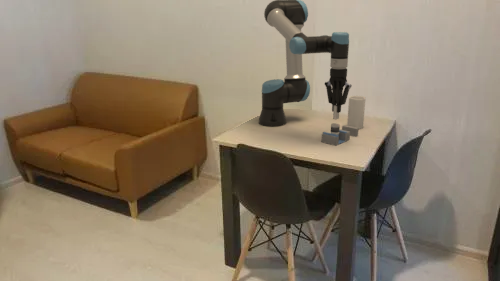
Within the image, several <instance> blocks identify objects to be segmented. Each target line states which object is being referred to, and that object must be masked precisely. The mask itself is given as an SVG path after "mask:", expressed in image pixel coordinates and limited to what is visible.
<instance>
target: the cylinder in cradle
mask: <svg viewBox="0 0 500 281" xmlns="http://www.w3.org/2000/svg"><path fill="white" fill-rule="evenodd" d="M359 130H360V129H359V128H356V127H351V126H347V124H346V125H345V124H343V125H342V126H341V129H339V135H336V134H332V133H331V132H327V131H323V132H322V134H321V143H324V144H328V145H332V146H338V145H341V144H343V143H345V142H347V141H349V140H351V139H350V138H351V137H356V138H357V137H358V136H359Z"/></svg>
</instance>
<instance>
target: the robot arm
mask: <svg viewBox="0 0 500 281" xmlns="http://www.w3.org/2000/svg"><path fill="white" fill-rule="evenodd" d="M263 14H264V20H265V22H266V23H267V24H268V25H269V26H270V27H273V28H275V30H276V31H277V32H278V33H279V34H281V36H282V37H283V38H284V39H285V57H286V58H285V60H286V75H285V77H284V80H283V79H279V78H278V79H269V80H266V81H264V82H263V83H262V85H261V105H262V106H261V111H260V115H259V118H258V124H259V125H261V126H264V127H279V126H285V125H286V124H287V118H286V115H285V112H284V104H289V103H300V102H304V101H306V100H308V99H309V98H308V97H309V96H310V92H311V84H310V81H309V80H307V79H306V76H305V75H304V74H303V72H304V71H303V55H307V54H321V53H322V54H323V53H324V54H325V53H326V54H330V65H329V66H330V68H329V69H330V70H329V80H328V81H325V82H324V86H325V89H326V93H327V94H326V95H327V100H328V103H329V104H331V111H332V112H333V113H332V115H333V116H332V117H333V118H332V120H335V121H336V120H339V119H340V113H341V112H342V106H344V105H346V103H347V98H348V95H349V92H350V89H351V88H352V84H350V83H349V82H348V79H347V77H348V66H349V64H348V62H349V47H350V34H349V32H347V31H346V32H345V31H344V32H343V31H335V32H332V33H331V35H327V34H324V35H320V36H319V35H318V36H307V35H306V34H304V33H303V31H302V28H303V27H304V26H305V23H306V22H307V21H308V16H309V9H308V7H307V4H306V3H305V2H304V1H303V0H272V1H270V2H269V3H268V4H267V6H266V7H265V9H264V13H263Z"/></svg>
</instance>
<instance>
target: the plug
mask: <svg viewBox="0 0 500 281" xmlns="http://www.w3.org/2000/svg"><path fill="white" fill-rule="evenodd" d="M339 129H340V123H337V122H336V123H331V124H330V133H332V134H336V135H339ZM340 130H341V129H340Z"/></svg>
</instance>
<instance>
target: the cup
mask: <svg viewBox="0 0 500 281" xmlns="http://www.w3.org/2000/svg"><path fill="white" fill-rule="evenodd" d="M365 107H366V97H365V96H363V95H350V96H349V97H348V108H347V109H348V110H347V120H346V123H347V124H346V126H351V127H356V128H359V129H358V130H361V129H363V128H364V121H365V109H366V108H365Z"/></svg>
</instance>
